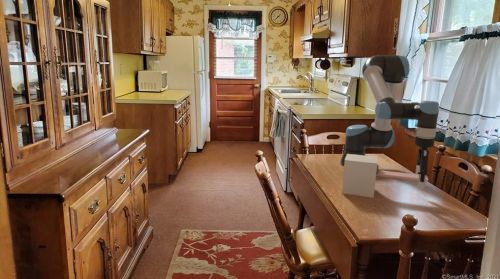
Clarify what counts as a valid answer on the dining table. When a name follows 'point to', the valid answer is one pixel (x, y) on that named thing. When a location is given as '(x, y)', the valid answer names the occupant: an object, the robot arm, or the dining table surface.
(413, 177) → the ticket strip
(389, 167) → the dining table surface
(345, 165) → the block
